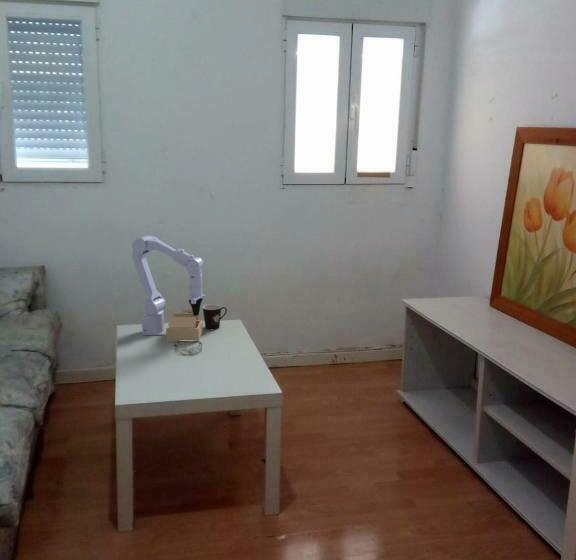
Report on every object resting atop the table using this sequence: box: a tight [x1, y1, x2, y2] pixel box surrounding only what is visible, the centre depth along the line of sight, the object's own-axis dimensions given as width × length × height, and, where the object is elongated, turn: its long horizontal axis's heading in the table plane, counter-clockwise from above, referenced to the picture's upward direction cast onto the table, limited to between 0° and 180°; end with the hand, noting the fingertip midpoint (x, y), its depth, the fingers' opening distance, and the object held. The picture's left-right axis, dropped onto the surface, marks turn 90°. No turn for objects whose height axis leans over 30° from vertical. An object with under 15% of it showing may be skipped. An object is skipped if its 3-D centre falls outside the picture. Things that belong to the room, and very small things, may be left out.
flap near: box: [169, 316, 196, 328], centre depth 276 cm, size 5×11×1 cm
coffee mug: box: [202, 303, 228, 331], centre depth 294 cm, size 12×9×10 cm
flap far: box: [172, 312, 200, 320], centre depth 284 cm, size 5×11×1 cm
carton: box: [165, 319, 204, 343], centre depth 281 cm, size 14×12×6 cm
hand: (196, 315), depth 279 cm, fingers closed
